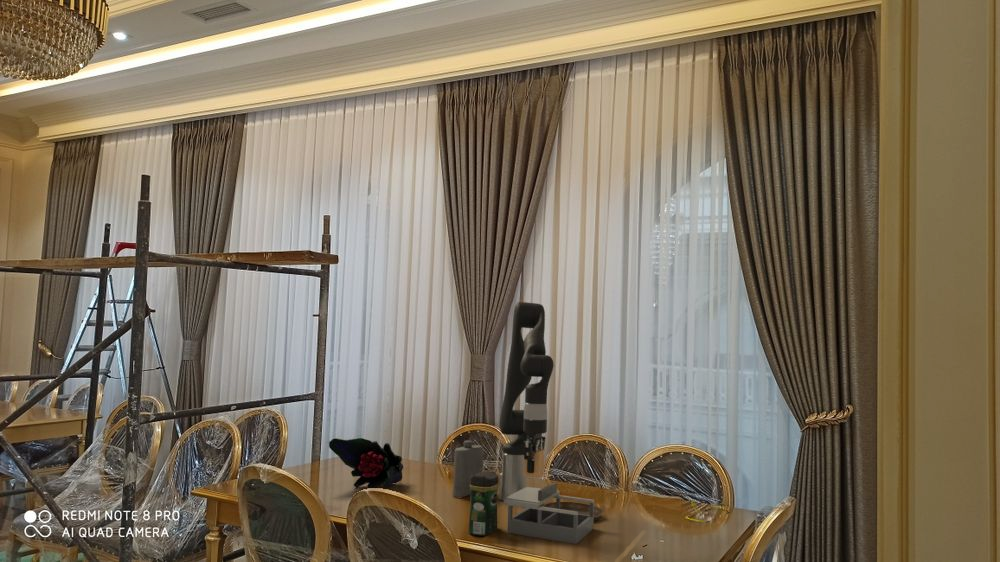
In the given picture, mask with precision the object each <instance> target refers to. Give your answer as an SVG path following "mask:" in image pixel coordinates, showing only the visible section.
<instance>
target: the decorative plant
mask: <svg viewBox="0 0 1000 562" xmlns="http://www.w3.org/2000/svg"><path fill="white" fill-rule="evenodd" d="M328 447H329V449H330V450H331V451H332V452H333V453H334V454H335V455H337V456H338V458H339V459H340V460H341V462H342V463H344V465H346V466H347V467H349V468H351V469H353V470H352V471H351V472H350V474H351V476H352V477H354V478H355V477H358V479H357V480H356V481H355V482H354V483H353V487H354V486H355V487H357V488H359V487H361V486H363V485H366V484H367V485H366V489H367V488H375V489H376V488H377V487H378V486H380V485H382V486H383V488H386V487H388V486H390V485H393V484H392V483H395V484H397V483H399V482H402V479H403V469H404V465H403V463H402V461H403V458H402V455H398V454H395V453H394V452H393V450H392V448H391V445H390V443H388V442H386V443H384V444H383V447H381V446H380V444H379V442H378V441H377V440H373V441H372V440H369V439H365V438H363V437H358V438H352V439H341V438H332V439H331V440H329V442H328ZM355 487H354V488H355Z"/></svg>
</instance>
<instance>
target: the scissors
mask: <svg viewBox="0 0 1000 562" xmlns="http://www.w3.org/2000/svg"><path fill="white" fill-rule="evenodd" d="M691 505H692V507H693V509H694V510H695V511H696V513H697V514H698V513H699V514H700V511H701V510H700V509H699V507H698V506H697V504H696V503H695V499H692V500H691ZM710 507H712V508H717V507H718V506H717V505H716V506H715V505H713V506H710ZM710 507H708V508H709V509H711V508H710ZM719 507H720V508H719V509H721V508H723V509H722V510H724V507H721V506H719ZM688 516H689V515H687V516H685V519H688V520H689V521H690V520H691V521H694V522H699V521H700V522H701V523H705V522H704V521H705V520H699V519H695V518H691V517H688ZM700 522H699V523H700Z"/></svg>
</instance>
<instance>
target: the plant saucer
mask: <svg viewBox="0 0 1000 562" xmlns="http://www.w3.org/2000/svg"><path fill="white" fill-rule="evenodd" d="M542 507H549V508H556V501H555V502H553V501H552V502H549V503H548V502H547V503H545V504H544V505H543V506H542ZM560 509H563V510H569V511H576V512H578V514H584V515H590V504H587V503H584V502H577V501H560ZM603 515H604V511H603V510H602V509H601V508H600V507H598V506H595V505H594V521H599V520H600V519H601V518H602V516H603ZM594 521H593V522H594Z"/></svg>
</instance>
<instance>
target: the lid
mask: <svg viewBox="0 0 1000 562" xmlns="http://www.w3.org/2000/svg"><path fill="white" fill-rule="evenodd" d="M557 488H558V483H557V482H552V483H550V484H548V485H546V486H544V487H542V488H538V487H533V486H532V487H531V486H526V487H525V488H523V489H521V490H519V491H518V492H516V493H514V494H512V495H510V496H508V497H506V498H505V499H504V501H503V504H504V505H508V504H510V505H517V506H523V507H522V508H524V507H530V508H537V509H538V508H539V506H541V505H543V504H544V503H545V504H546V502H547V503H548V501H550V500H551V499H554V498H553V497H555V496H556V495H560V491H559V490H558V489H557ZM517 506H516V507H517Z"/></svg>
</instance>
